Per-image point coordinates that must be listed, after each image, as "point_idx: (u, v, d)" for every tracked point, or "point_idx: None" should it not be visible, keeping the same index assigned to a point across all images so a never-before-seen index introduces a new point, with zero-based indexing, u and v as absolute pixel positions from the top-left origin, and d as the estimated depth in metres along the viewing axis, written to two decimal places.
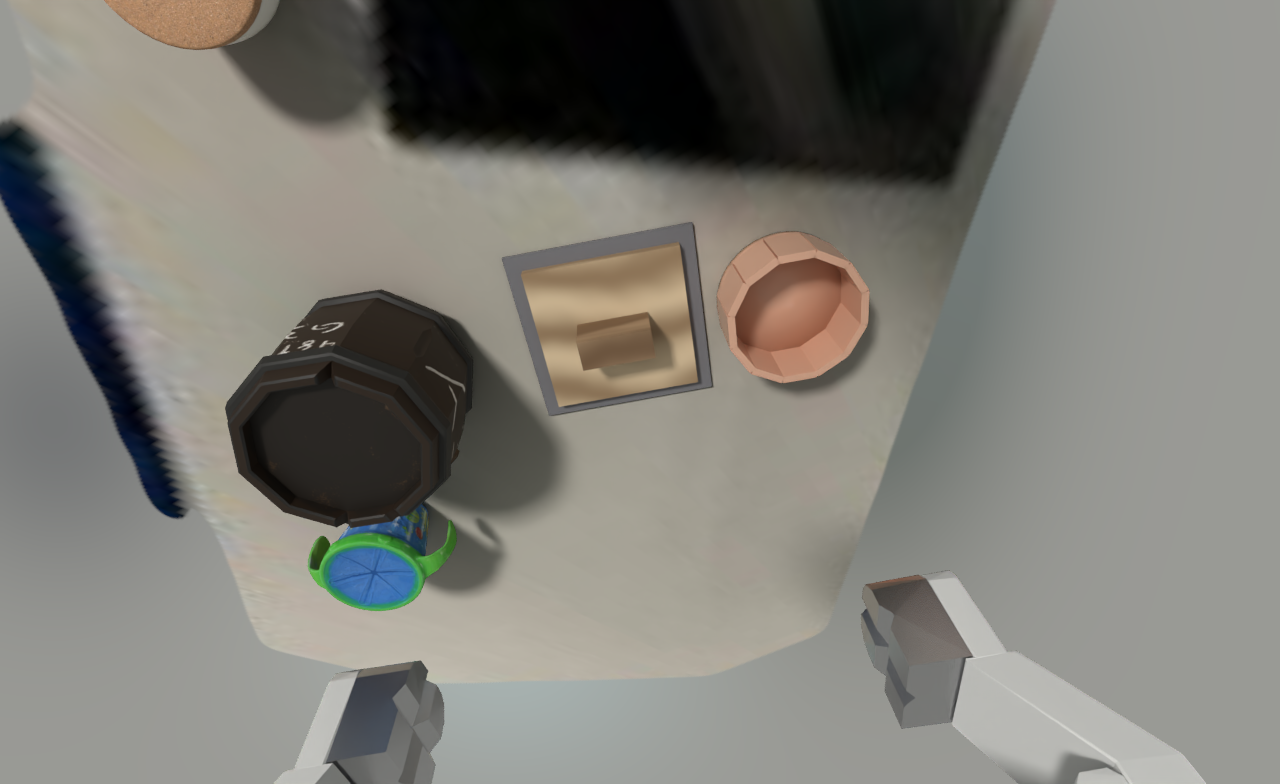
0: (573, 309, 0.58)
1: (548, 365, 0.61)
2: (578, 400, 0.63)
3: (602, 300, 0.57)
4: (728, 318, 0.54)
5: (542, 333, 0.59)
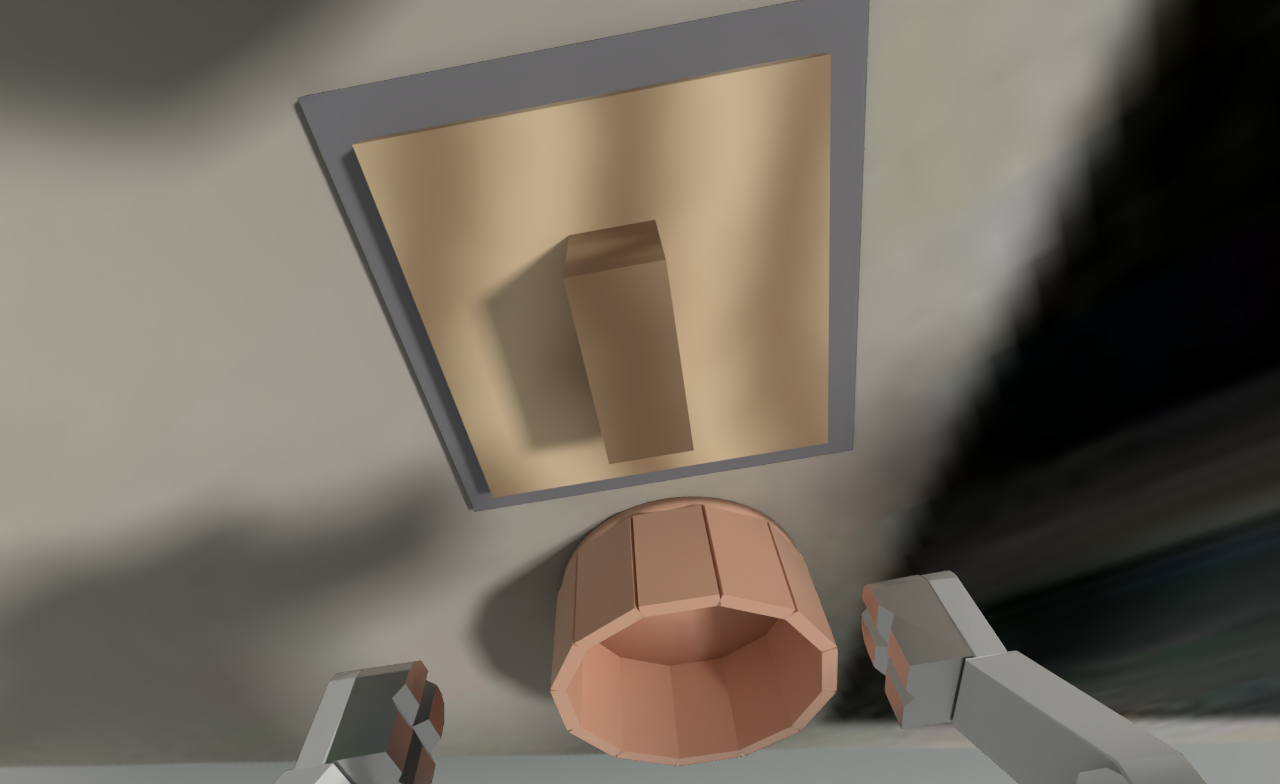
0: (702, 211, 0.20)
1: (513, 119, 0.18)
2: (390, 213, 0.20)
3: (721, 288, 0.22)
4: (715, 596, 0.24)
5: (630, 108, 0.18)
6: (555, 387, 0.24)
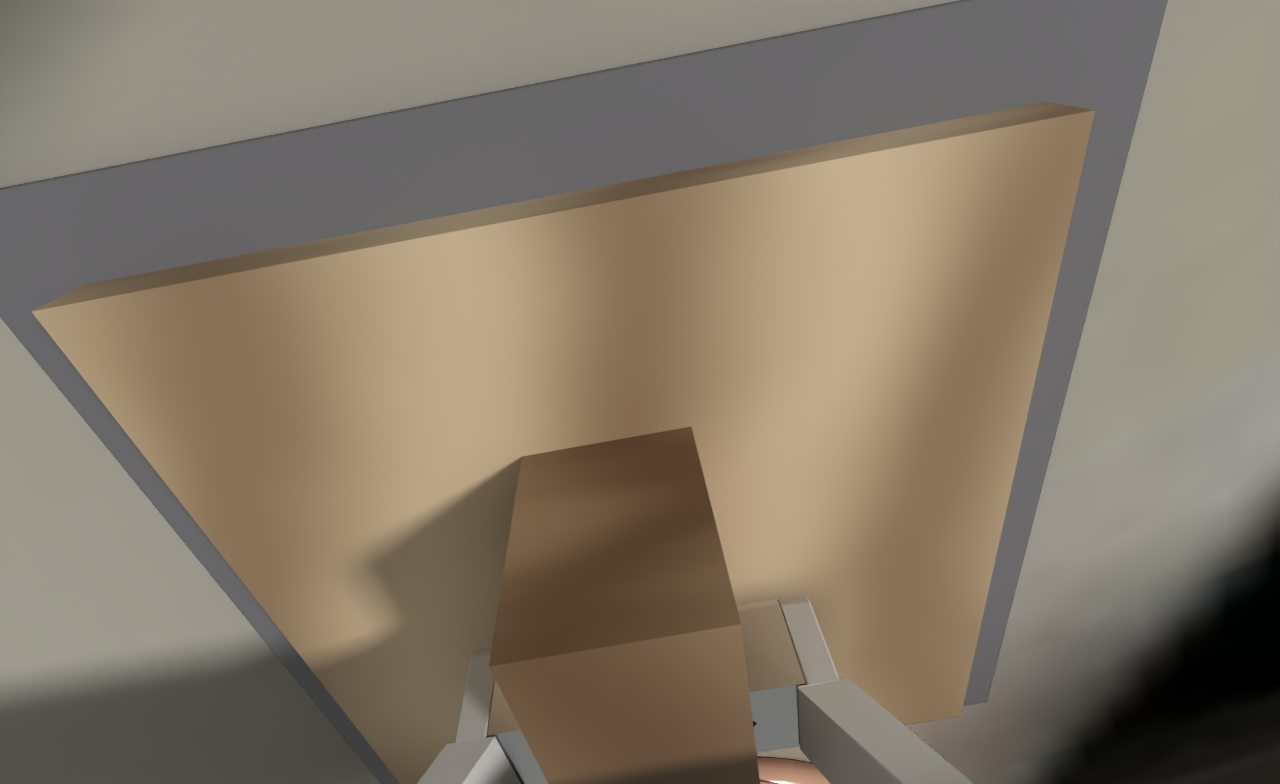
0: (786, 409, 0.10)
1: (386, 255, 0.08)
2: (149, 432, 0.10)
3: (809, 526, 0.12)
4: None
5: (643, 228, 0.08)
6: None
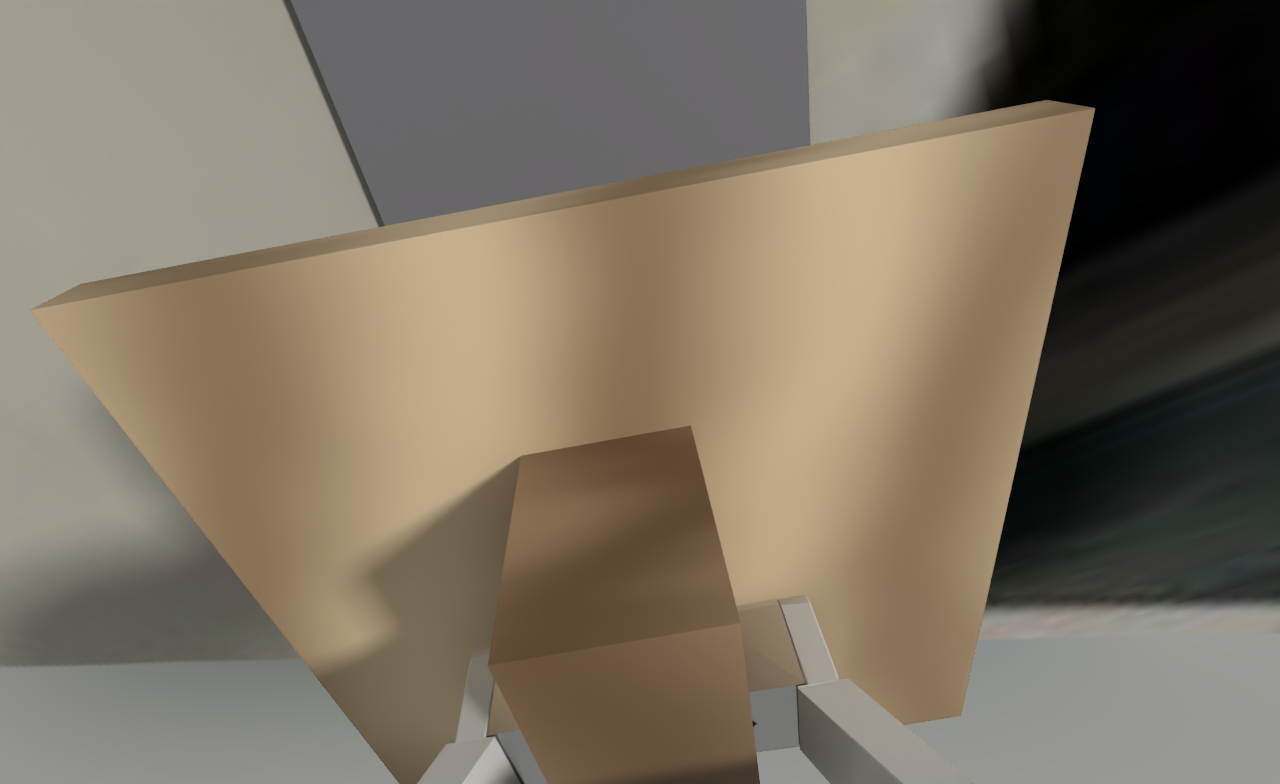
0: (786, 408, 0.10)
1: (385, 253, 0.08)
2: (148, 431, 0.10)
3: (809, 526, 0.12)
4: None
5: (643, 227, 0.08)
6: None
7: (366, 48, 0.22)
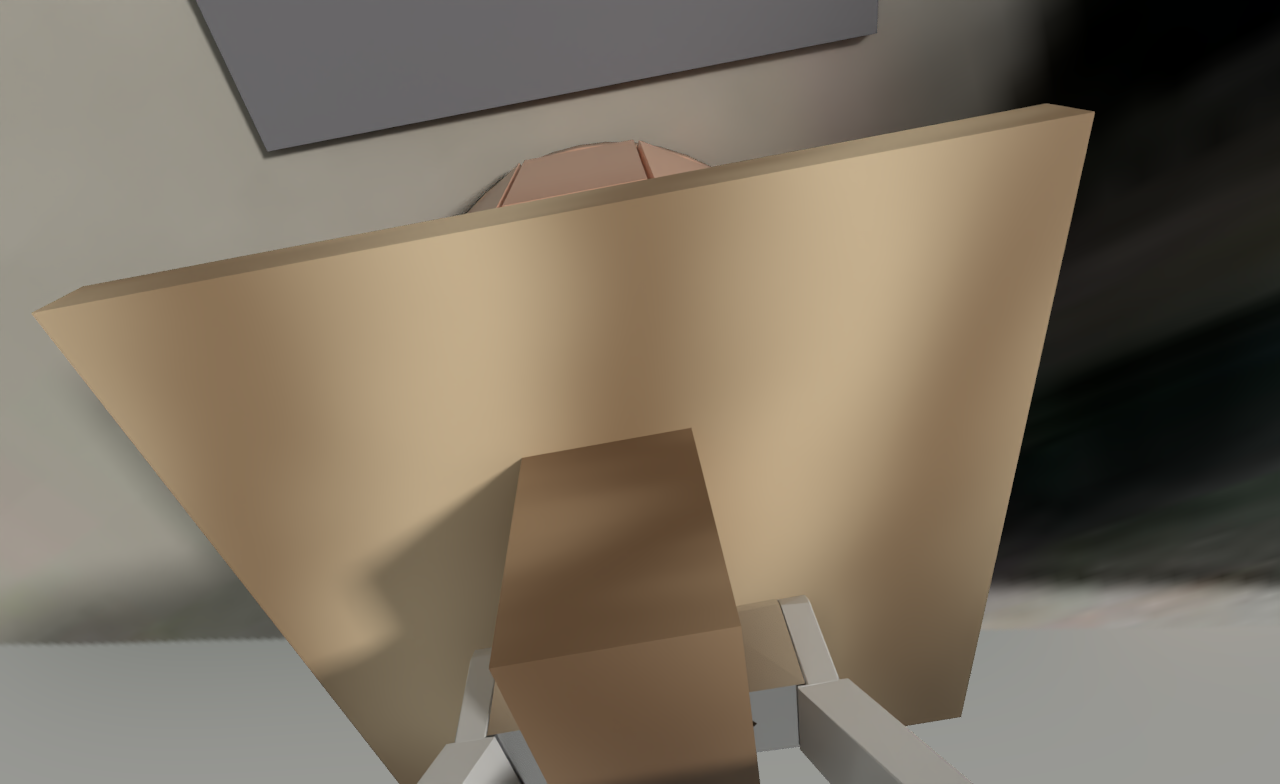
0: (786, 411, 0.10)
1: (386, 256, 0.08)
2: (149, 433, 0.10)
3: (809, 528, 0.12)
4: None
5: (643, 230, 0.08)
6: None
7: None
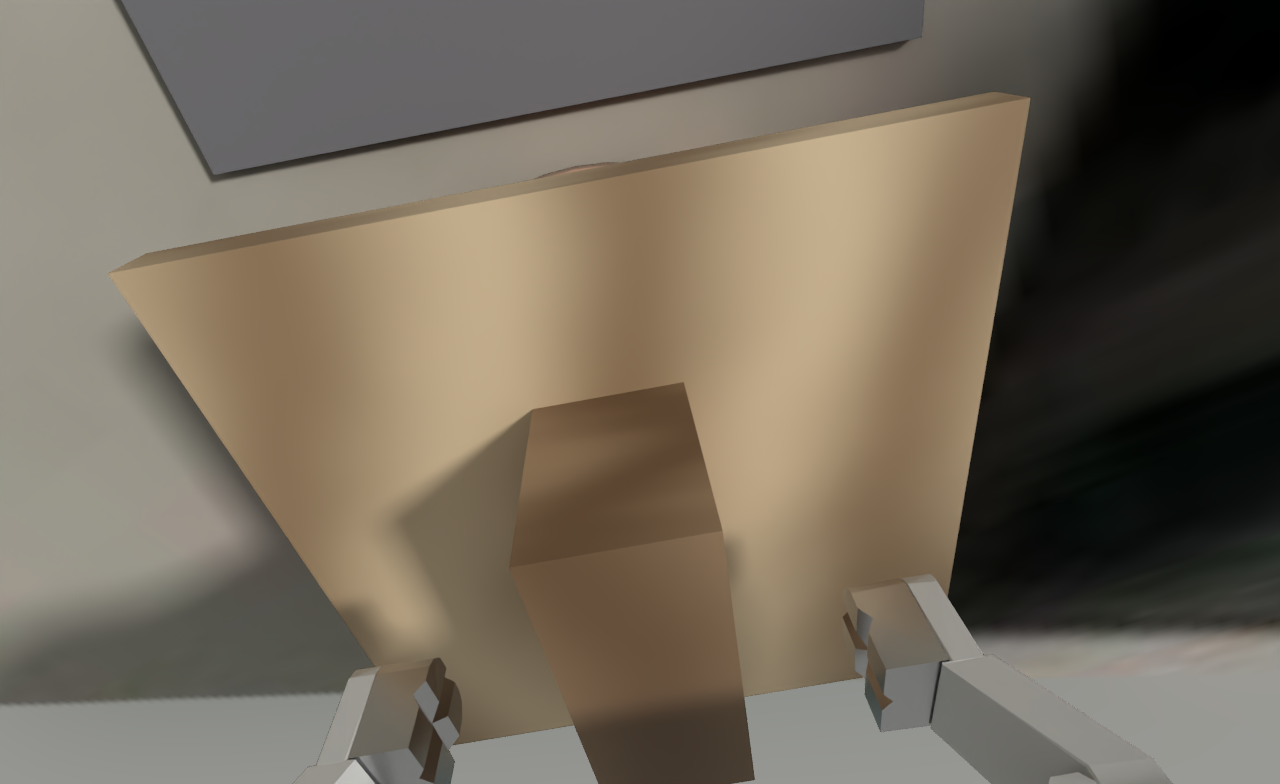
0: (768, 367, 0.12)
1: (417, 224, 0.10)
2: (204, 384, 0.11)
3: (791, 478, 0.13)
4: None
5: (640, 201, 0.10)
6: (518, 617, 0.15)
7: None
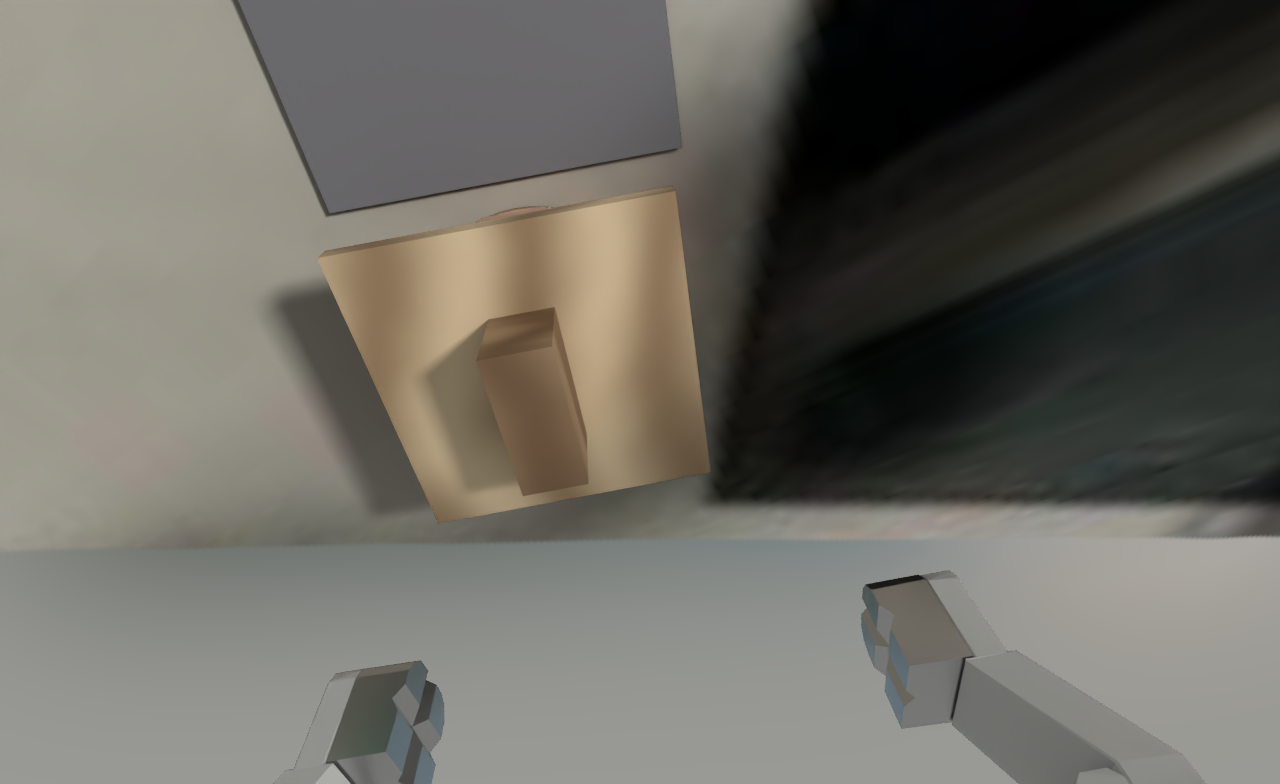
0: (591, 300, 0.27)
1: (440, 238, 0.25)
2: (347, 306, 0.26)
3: (611, 355, 0.28)
4: None
5: (528, 229, 0.25)
6: (484, 433, 0.30)
7: None
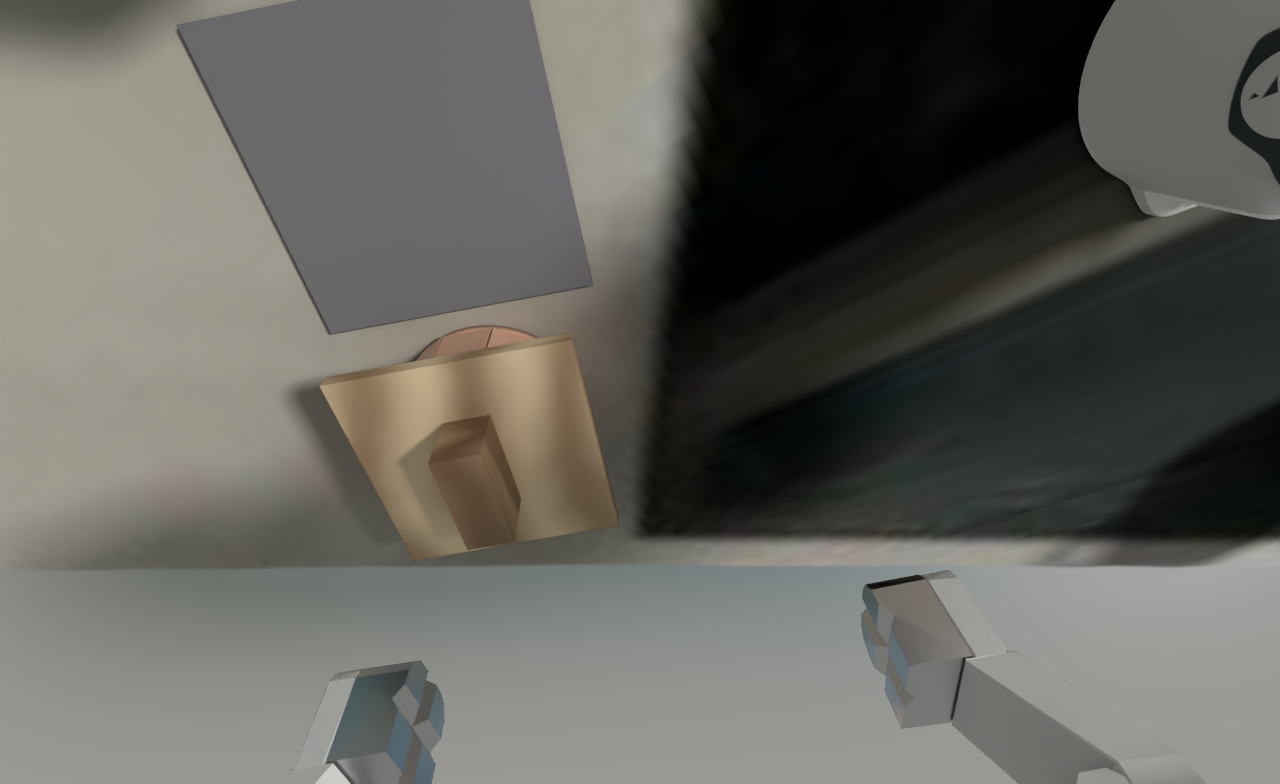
0: (516, 410, 0.37)
1: (405, 372, 0.35)
2: (341, 416, 0.36)
3: (534, 446, 0.38)
4: None
5: (467, 366, 0.35)
6: None
7: (263, 126, 0.33)
